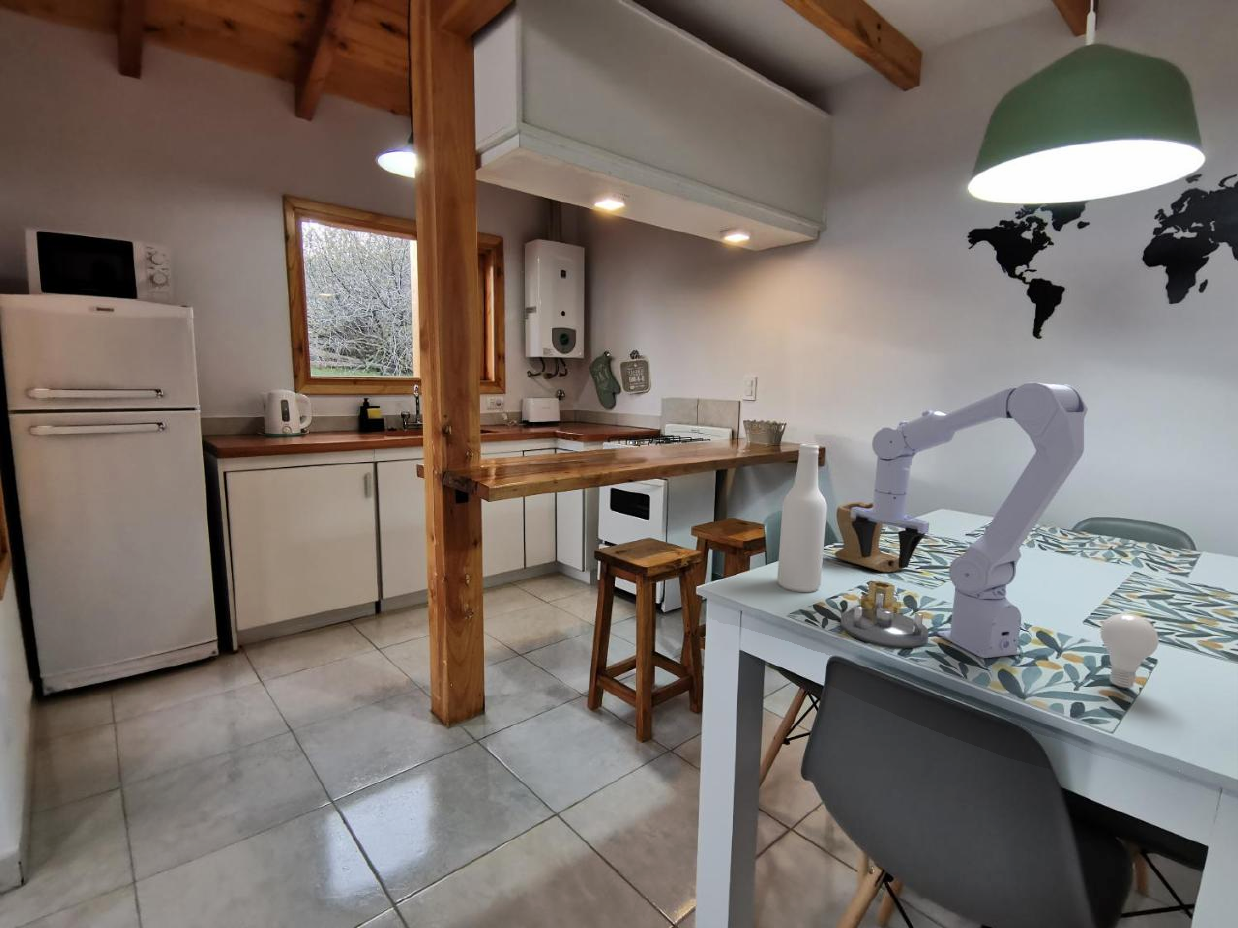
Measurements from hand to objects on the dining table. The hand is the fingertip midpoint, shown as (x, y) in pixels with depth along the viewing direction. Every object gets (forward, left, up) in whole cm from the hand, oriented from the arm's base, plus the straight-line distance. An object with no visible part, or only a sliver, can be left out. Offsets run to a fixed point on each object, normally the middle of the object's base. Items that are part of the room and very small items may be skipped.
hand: (884, 561), depth 115 cm
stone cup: (+24, -15, -9) cm, 30 cm away
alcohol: (+14, +9, -9) cm, 19 cm away
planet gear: (0, 0, -9) cm, 9 cm away
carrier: (-10, +7, -9) cm, 15 cm away
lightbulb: (-34, -14, -9) cm, 38 cm away
